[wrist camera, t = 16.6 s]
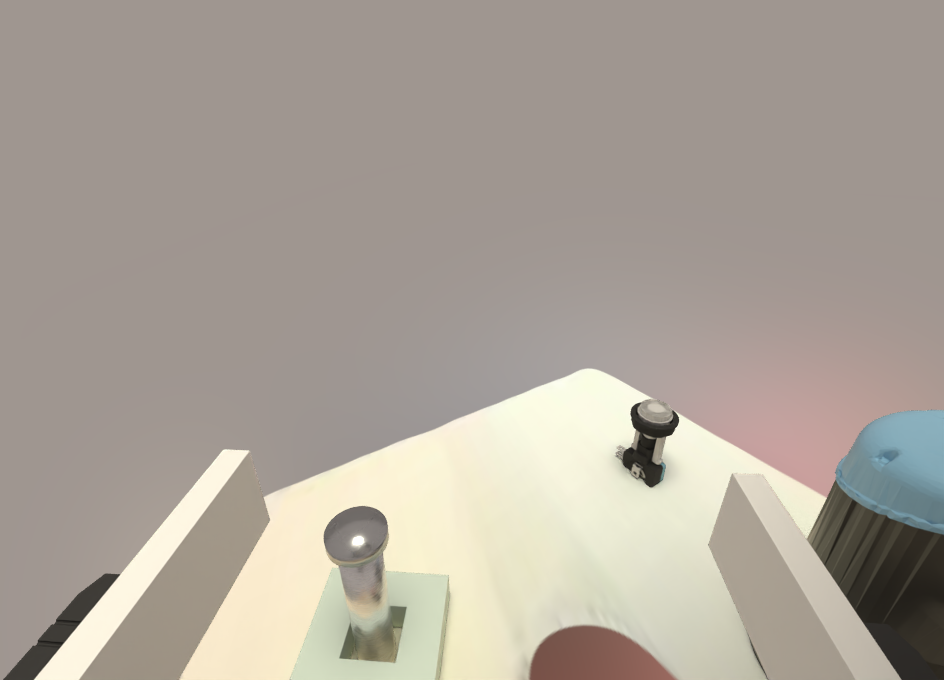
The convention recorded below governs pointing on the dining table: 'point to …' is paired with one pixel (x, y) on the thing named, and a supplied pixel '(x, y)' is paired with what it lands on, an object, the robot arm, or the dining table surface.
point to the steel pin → (364, 578)
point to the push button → (649, 440)
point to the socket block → (412, 607)
